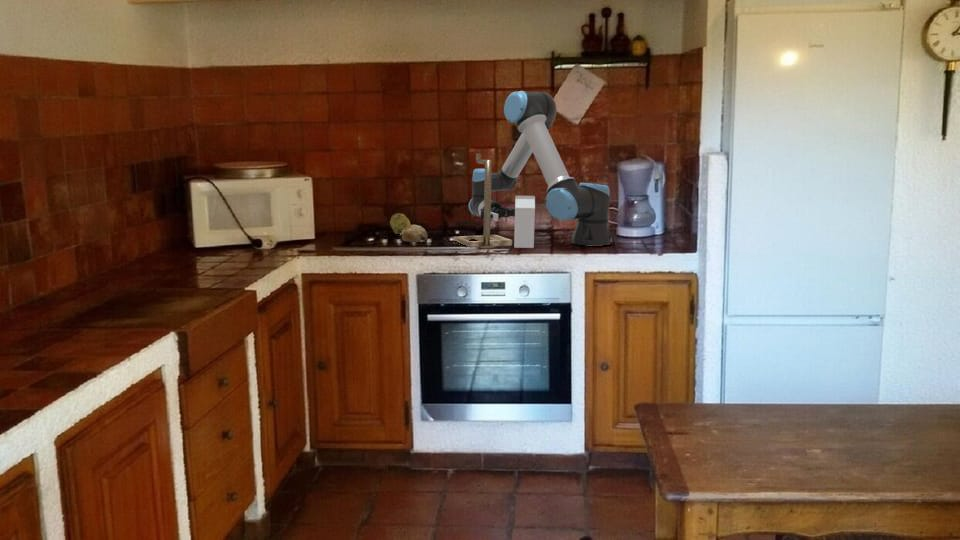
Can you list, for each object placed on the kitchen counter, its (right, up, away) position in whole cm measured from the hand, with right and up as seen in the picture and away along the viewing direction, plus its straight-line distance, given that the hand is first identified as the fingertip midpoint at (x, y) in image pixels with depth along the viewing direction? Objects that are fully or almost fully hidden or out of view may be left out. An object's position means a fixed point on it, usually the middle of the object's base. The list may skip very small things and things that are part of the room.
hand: (513, 217), depth 349 cm
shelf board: (-12, -10, -1) cm, 16 cm away
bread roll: (-38, -9, +4) cm, 40 cm away
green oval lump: (-44, -6, +18) cm, 48 cm away
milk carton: (+3, -12, -6) cm, 14 cm away
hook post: (-12, -11, -6) cm, 17 cm away
